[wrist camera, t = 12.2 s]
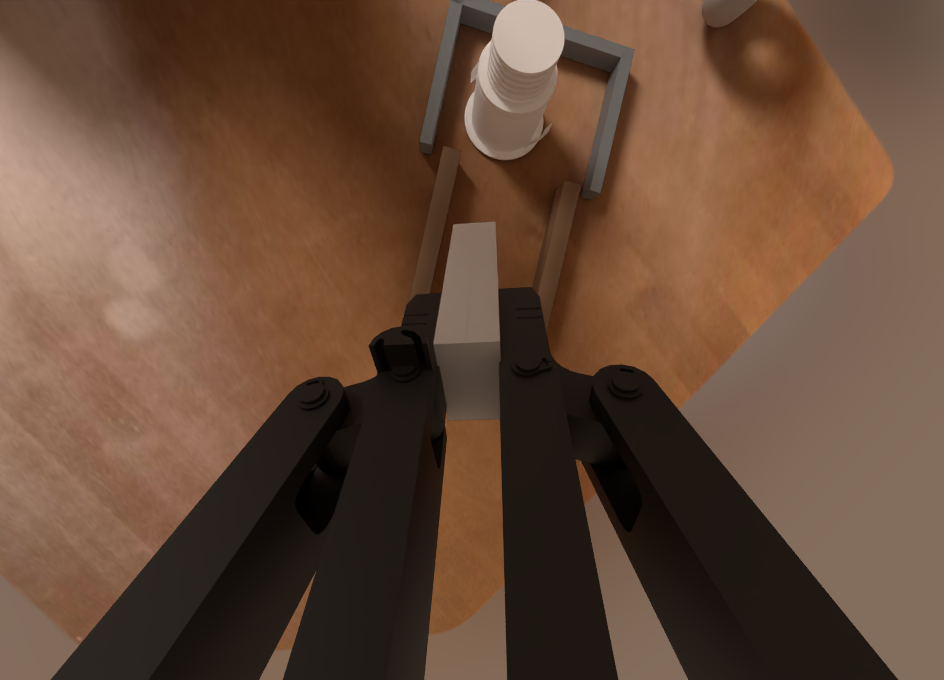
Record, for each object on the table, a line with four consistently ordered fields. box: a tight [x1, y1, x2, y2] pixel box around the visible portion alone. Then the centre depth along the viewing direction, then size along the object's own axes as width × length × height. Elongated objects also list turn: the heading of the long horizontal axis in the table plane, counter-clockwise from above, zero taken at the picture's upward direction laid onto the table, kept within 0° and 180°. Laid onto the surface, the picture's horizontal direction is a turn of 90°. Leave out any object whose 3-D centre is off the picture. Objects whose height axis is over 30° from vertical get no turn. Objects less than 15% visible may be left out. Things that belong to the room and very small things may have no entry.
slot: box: [409, 146, 581, 333], centre depth 33 cm, size 12×14×2 cm
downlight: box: [465, 0, 564, 160], centre depth 29 cm, size 8×7×10 cm
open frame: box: [419, 0, 634, 200], centre depth 33 cm, size 16×12×2 cm
